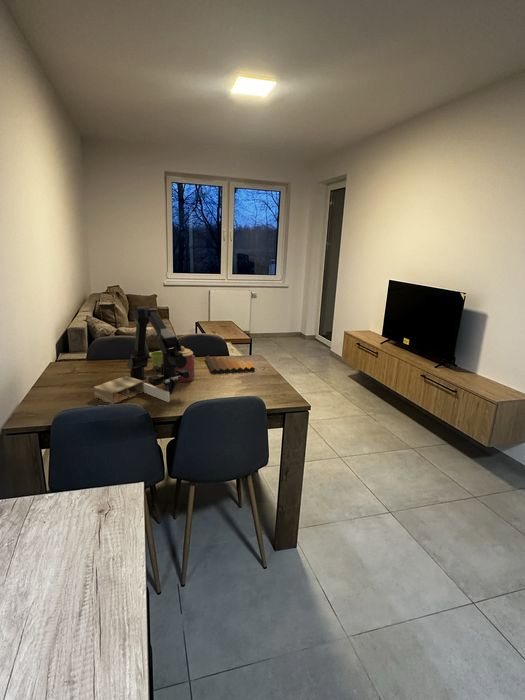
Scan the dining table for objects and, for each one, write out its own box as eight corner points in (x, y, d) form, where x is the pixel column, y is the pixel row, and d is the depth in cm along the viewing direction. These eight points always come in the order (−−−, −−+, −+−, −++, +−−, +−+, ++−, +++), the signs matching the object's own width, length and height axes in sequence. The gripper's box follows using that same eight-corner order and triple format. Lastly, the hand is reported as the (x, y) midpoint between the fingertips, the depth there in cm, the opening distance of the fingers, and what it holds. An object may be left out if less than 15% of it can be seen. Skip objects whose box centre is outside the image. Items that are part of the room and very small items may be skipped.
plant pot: (149, 366, 226) (148, 352, 224) (165, 365, 230) (165, 350, 228) (151, 372, 218) (151, 356, 216) (169, 370, 222) (168, 355, 220)
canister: (164, 379, 208) (163, 347, 203) (180, 372, 219) (180, 341, 214) (184, 384, 202) (184, 351, 197) (200, 377, 213) (199, 345, 208)
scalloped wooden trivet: (204, 360, 242) (211, 374, 219) (204, 355, 242) (211, 368, 219) (244, 358, 249) (255, 372, 226) (245, 353, 248) (255, 366, 225)
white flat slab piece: (142, 392, 190) (142, 382, 188) (144, 392, 191) (144, 381, 189) (168, 402, 180) (167, 391, 179) (169, 402, 181) (169, 391, 179)
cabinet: (126, 386, 197) (125, 375, 195) (143, 392, 191) (143, 381, 189) (95, 398, 182) (94, 386, 180) (112, 404, 176) (111, 392, 174)
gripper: (177, 354, 193) (178, 384, 197) (141, 361, 180) (143, 393, 185) (190, 360, 185) (190, 391, 190) (153, 368, 173) (155, 401, 177)
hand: (170, 394), depth 185 cm, fingers closed
